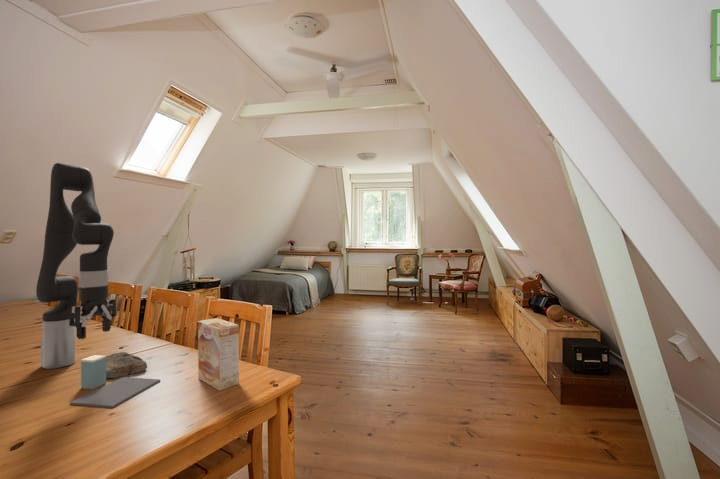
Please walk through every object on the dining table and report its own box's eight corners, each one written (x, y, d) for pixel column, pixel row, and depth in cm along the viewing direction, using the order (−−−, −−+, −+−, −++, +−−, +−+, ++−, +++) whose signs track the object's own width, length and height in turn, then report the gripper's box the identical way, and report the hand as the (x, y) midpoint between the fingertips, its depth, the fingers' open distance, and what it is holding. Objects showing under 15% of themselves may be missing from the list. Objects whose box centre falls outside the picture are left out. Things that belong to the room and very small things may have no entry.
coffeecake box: (197, 378, 115) (197, 320, 115) (217, 372, 120) (217, 317, 120) (218, 391, 105) (218, 328, 105) (239, 384, 111) (239, 324, 111)
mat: (70, 404, 97) (70, 402, 97) (123, 378, 115) (123, 377, 115) (112, 408, 95) (112, 405, 95) (160, 381, 113) (160, 379, 113)
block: (81, 388, 108) (81, 359, 108) (94, 382, 112) (94, 355, 112) (93, 389, 107) (93, 360, 107) (106, 383, 112) (106, 355, 112)
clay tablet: (93, 366, 127) (98, 382, 112) (93, 353, 127) (99, 367, 112) (137, 358, 137) (148, 372, 122) (138, 346, 137) (148, 358, 122)
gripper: (103, 282, 118) (103, 328, 118) (61, 287, 104) (62, 341, 104) (122, 282, 117) (123, 329, 116) (82, 287, 102) (83, 341, 102)
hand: (94, 334), depth 110 cm, fingers open, 8 cm apart
